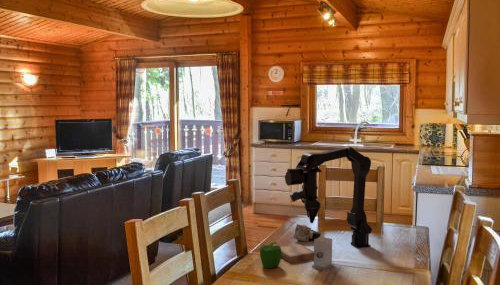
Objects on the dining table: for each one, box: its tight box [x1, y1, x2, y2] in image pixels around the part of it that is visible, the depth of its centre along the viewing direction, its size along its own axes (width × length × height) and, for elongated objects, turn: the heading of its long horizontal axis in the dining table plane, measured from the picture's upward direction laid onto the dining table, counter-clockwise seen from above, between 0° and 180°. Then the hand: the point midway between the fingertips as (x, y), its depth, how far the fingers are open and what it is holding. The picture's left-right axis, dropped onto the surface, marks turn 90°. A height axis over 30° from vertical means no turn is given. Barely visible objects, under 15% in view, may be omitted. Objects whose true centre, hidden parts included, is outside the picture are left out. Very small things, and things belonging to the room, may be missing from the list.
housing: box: [311, 236, 335, 272], centre depth 188 cm, size 6×6×11 cm
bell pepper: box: [259, 241, 282, 269], centre depth 189 cm, size 8×8×10 cm
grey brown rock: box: [293, 224, 321, 243], centre depth 225 cm, size 7×11×10 cm
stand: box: [280, 243, 314, 264], centre depth 201 cm, size 12×12×3 cm
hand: (310, 220), depth 205 cm, fingers open, 9 cm apart
